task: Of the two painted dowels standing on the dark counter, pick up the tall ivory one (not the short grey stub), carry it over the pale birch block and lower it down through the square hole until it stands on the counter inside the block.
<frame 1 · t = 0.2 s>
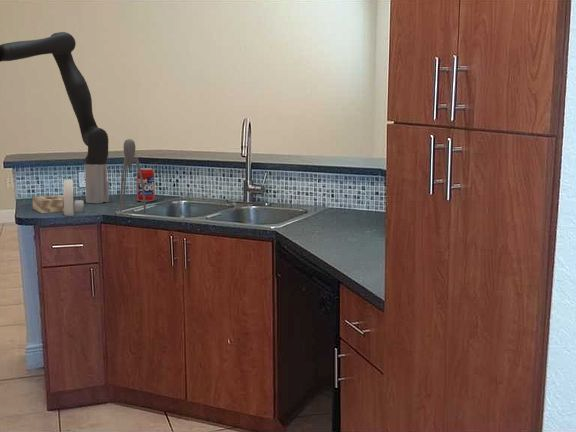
short grey dowel: (79, 211, 294), on the worktop
soda can: (145, 201, 328), on the worktop
tall ivory dowel: (68, 215, 285), on the worktop
citrus juicer: (127, 212, 298), on the worktop
birch socket block: (51, 210, 296), on the worktop
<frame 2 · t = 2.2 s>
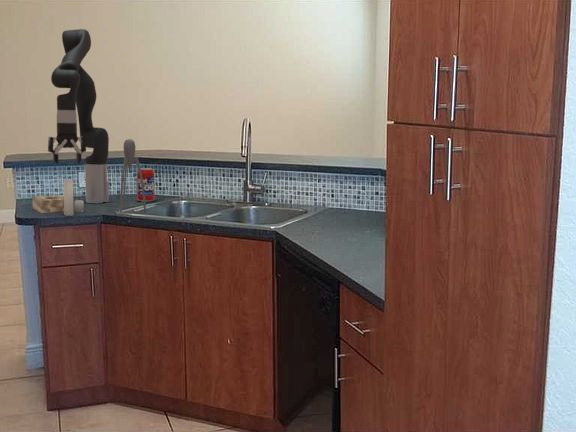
hand: (67, 163, 282), 21 cm above the worktop, fingers open, 8 cm apart
nothing on the worktop moved.
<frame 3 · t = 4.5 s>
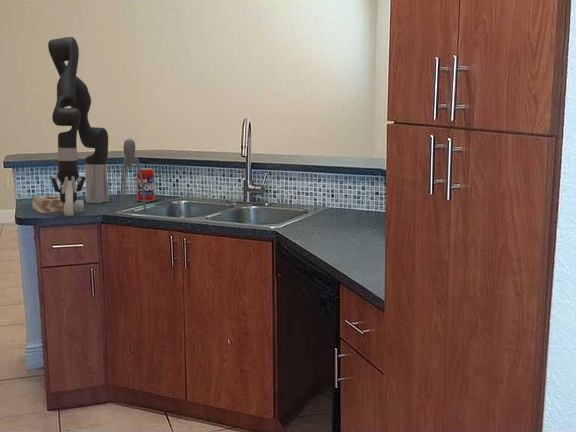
hand: (68, 202, 284), 5 cm above the worktop, fingers closed on tall ivory dowel, 3 cm apart
tall ivory dowel: (68, 215, 285), on the worktop, touching gripper
everything else where it was.
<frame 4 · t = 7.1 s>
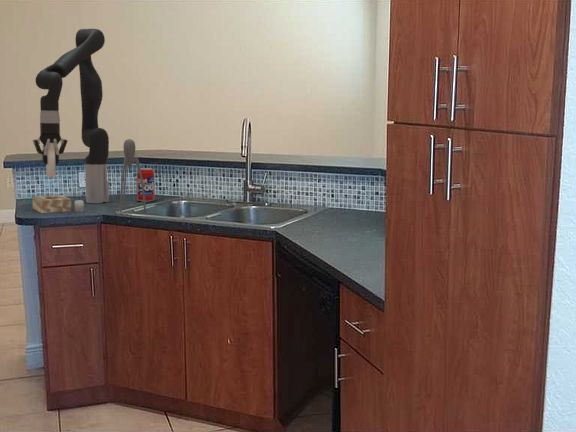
hand: (50, 164, 293), 19 cm above the worktop, fingers closed on tall ivory dowel, 3 cm apart
tall ivory dowel: (51, 176, 294), point 14 cm above the worktop, touching gripper
everything else where it was.
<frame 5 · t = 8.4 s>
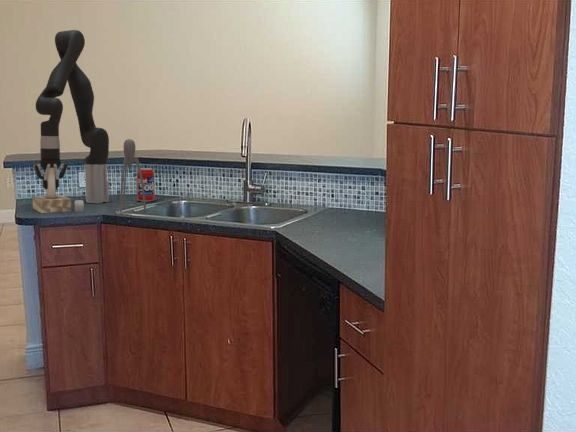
hand: (50, 188, 295), 9 cm above the worktop, fingers closed on tall ivory dowel, 3 cm apart
tall ivory dowel: (51, 201, 295), point 4 cm above the worktop, touching gripper
everything else where it was.
when the fingers open (7 cm above the worktop, at t = 9.5 s): tall ivory dowel drops 1 cm, resting in birch socket block.
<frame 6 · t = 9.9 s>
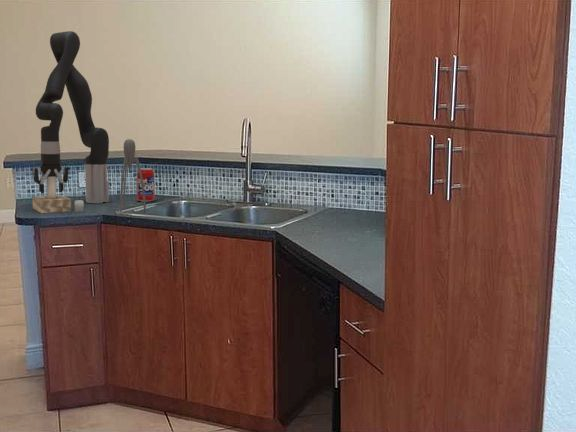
hand: (51, 192, 295), 7 cm above the worktop, fingers open, 7 cm apart
tall ivory dowel: (51, 210, 296), resting in birch socket block
everything else where it was.
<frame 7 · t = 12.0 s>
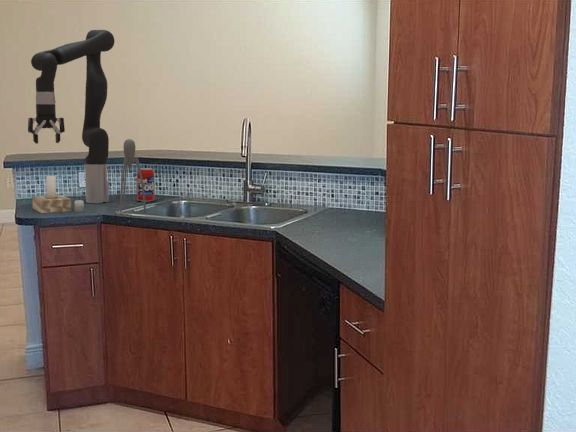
hand: (47, 143, 294), 27 cm above the worktop, fingers open, 8 cm apart
nothing on the worktop moved.
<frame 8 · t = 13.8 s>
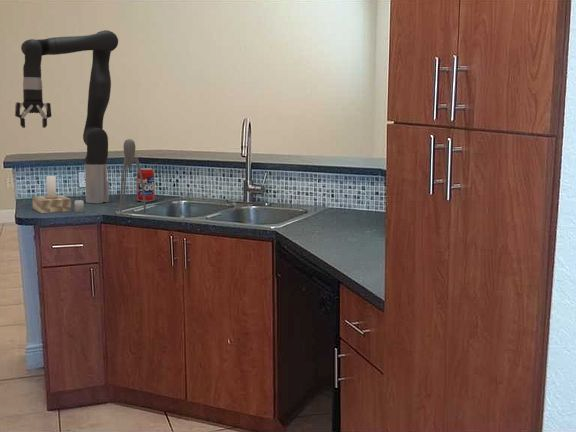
hand: (33, 127, 301), 33 cm above the worktop, fingers open, 8 cm apart
nothing on the worktop moved.
at the end: tall ivory dowel 0.0 cm off-centre on the birch socket block, point 0.0 cm above the birch socket block's base; tall ivory dowel tilted 0°; the gripper is holding nothing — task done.
